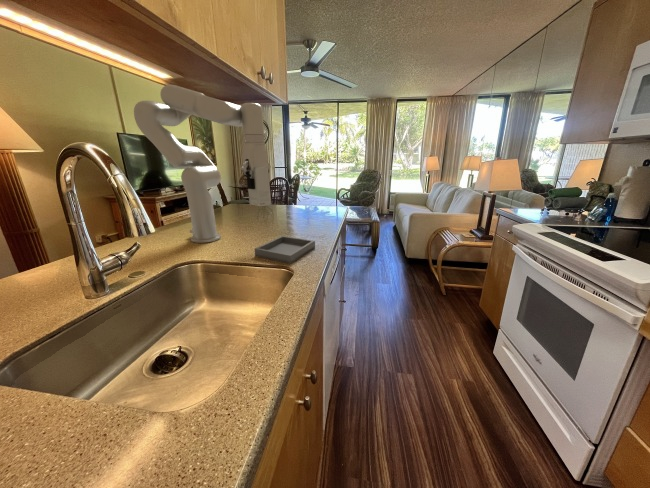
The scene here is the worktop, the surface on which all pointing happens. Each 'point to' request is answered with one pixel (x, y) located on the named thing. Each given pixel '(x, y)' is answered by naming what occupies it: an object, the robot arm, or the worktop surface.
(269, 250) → the tray
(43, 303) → the worktop surface
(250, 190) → the skincare box
